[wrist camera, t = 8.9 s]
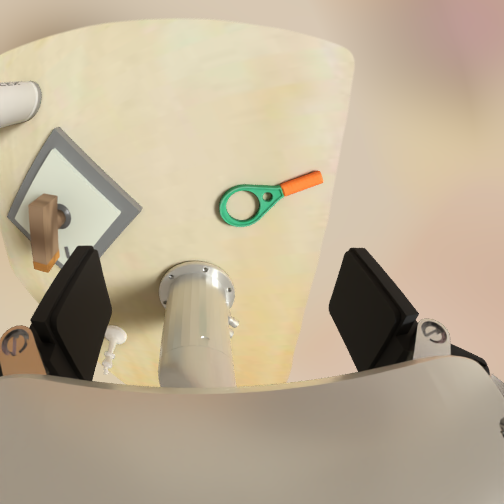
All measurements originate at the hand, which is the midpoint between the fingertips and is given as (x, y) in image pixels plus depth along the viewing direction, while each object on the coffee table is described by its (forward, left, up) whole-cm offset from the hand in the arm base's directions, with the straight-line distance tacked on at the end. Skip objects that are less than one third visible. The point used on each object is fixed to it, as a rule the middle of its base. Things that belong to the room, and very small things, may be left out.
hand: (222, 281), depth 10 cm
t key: (+10, +22, -26) cm, 35 cm away
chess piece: (-11, +38, -29) cm, 49 cm away
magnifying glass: (-10, -2, -29) cm, 31 cm away
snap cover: (+10, +22, -28) cm, 37 cm away
